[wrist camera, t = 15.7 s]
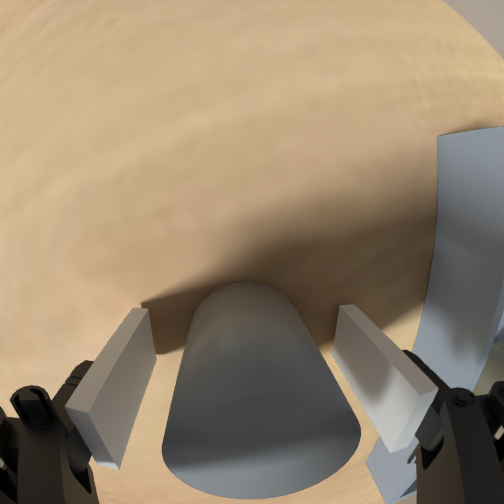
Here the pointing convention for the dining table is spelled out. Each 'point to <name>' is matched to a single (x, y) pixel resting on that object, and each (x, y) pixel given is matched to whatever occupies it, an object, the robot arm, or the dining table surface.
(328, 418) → the canister
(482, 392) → the flower pot
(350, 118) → the dining table surface
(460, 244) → the tote
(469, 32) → the dining table surface
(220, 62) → the dining table surface
